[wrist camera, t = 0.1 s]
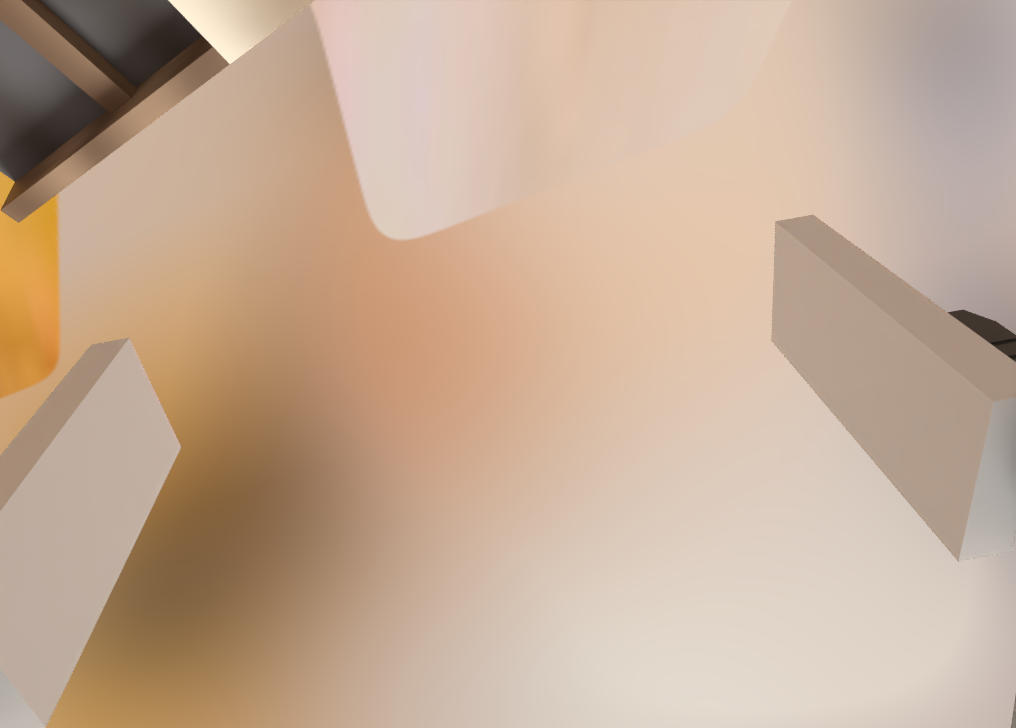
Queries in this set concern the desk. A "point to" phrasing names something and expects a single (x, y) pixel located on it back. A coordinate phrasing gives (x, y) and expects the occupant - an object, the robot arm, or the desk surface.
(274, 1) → the birch block
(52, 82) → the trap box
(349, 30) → the desk surface
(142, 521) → the robot arm
